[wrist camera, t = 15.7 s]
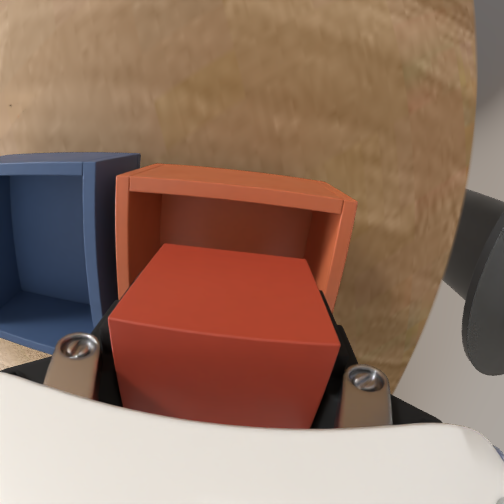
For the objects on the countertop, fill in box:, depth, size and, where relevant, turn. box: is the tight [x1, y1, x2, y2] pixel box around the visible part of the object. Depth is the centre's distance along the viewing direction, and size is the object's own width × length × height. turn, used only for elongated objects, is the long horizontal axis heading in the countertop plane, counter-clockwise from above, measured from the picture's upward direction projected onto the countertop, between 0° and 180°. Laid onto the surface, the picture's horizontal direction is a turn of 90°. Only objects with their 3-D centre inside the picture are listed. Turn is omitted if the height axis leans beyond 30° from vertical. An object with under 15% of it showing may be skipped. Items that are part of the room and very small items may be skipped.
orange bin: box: [115, 163, 358, 313], centre depth 15 cm, size 9×9×6 cm
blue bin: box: [0, 152, 141, 355], centre depth 15 cm, size 10×10×6 cm
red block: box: [108, 243, 341, 429], centre depth 9 cm, size 5×5×5 cm
